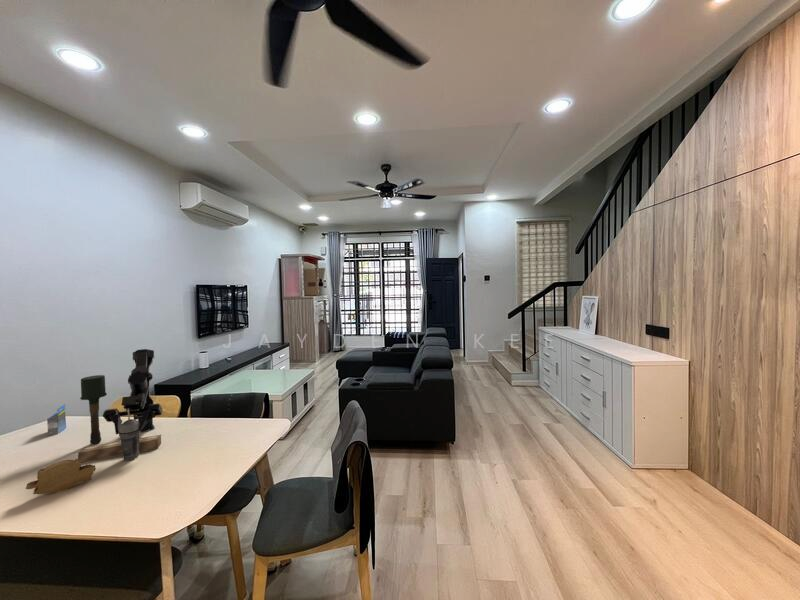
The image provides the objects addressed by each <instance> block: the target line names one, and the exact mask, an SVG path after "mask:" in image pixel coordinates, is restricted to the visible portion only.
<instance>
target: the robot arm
mask: <svg viewBox="0 0 800 600" xmlns="http://www.w3.org/2000/svg"><path fill="white" fill-rule="evenodd" d="M154 359H155V351H154V349H153V350H152V349H148V348H141V349H137V350H135V351H133V352H132V361H133V362H134V363H135V368H133V369H132V370H131V372H130V374H129V375H128V379H127V383H128V384H129V388H130V390H131V392H130V394H129V396H124V397H123V396H122V399H121V406H123V409H124V410H121V411H119V409H118V408H109V409H105V410H104V411H103V413H102V417H103V419H104V420H105V421H106V422H107V423H110V422H112V423H113V424H114V429H115V431H114V432H115V434H116V435H119V434H118V431H119V427H120V426H121V424H122V423H123V420H122V417H124V416H125V417H126V416H128V409H129V414H130V416H133V419H134V420H137V421H138V422H139V423H140V427H139V431H141V432H140V433H142V432H148V431H151V429H152V430H156V428H155V426H154V422H153V418H156V417H157V416H161V415H163V408H162V406H161V404H160V403H154V399H153V398H152V397H151V395H150V394H151V393H150V392H151V390H150V381H152V380H153V377H154V375H153V373H152V372H150V367H151V365H152V364H153V363H154V362H153V361H154Z"/></svg>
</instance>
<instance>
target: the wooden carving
mask: <svg viewBox="0 0 800 600" xmlns="http://www.w3.org/2000/svg"><path fill="white" fill-rule="evenodd" d="M96 470H97V469H96V464H85V465H82V462H80V460H79V459H78V458H76V459H65V460H60V461H58V462H54V463H52V464H49V465H47V466H46V467H44V468H40V469H39V470H38V471H37V475H36V478H37V480H33V481H29V482H28V483H27V484H26V487H25V490H31V489H33V494H34V495H53V494H57V493H56V492H58V493H60V492H59V491H61V492H63V491H62V490H64V491H66V490H65V489H67V490H69V489H71V488H72V487H75V486H76V485H78V484H80V483H85V482H88V481H90V480H91V479H92V476H93V475H94V472H95V471H96ZM68 488H69V489H68Z"/></svg>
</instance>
